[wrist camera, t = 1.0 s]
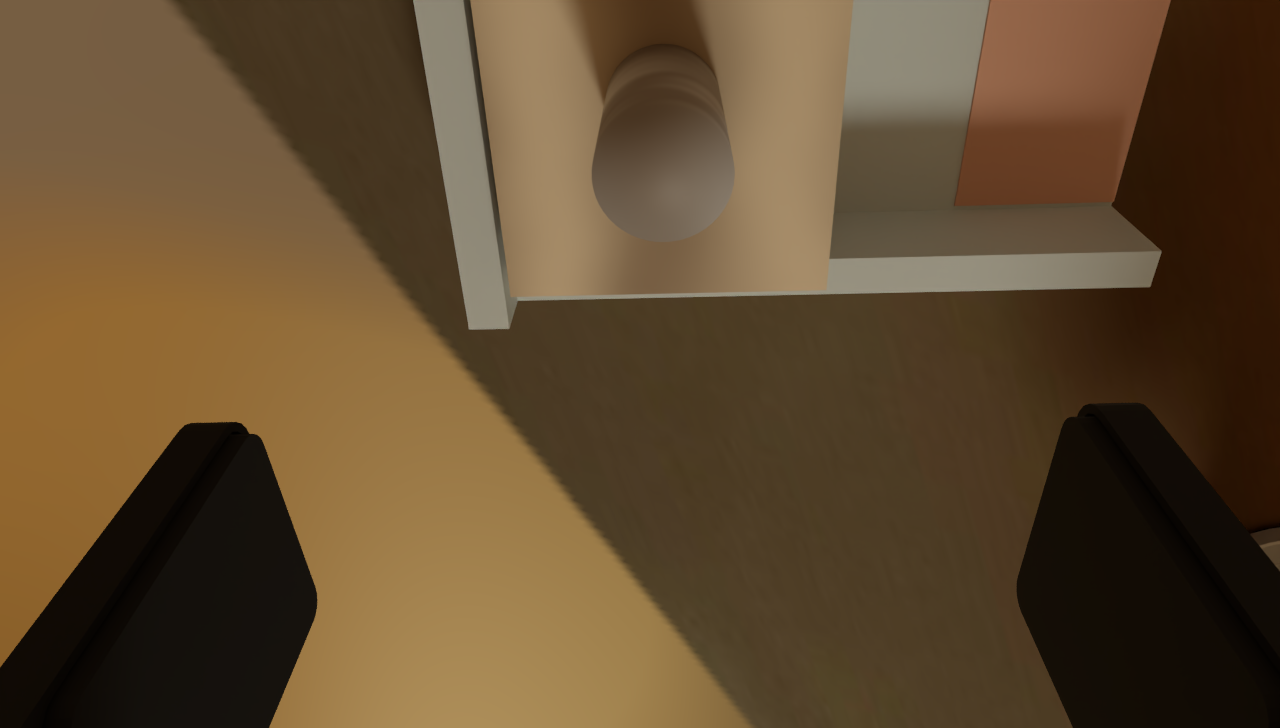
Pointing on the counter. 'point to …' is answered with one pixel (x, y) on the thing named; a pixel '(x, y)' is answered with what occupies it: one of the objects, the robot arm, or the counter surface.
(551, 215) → the wooden block with knob
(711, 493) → the counter surface
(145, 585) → the robot arm
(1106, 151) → the bay
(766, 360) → the counter surface
